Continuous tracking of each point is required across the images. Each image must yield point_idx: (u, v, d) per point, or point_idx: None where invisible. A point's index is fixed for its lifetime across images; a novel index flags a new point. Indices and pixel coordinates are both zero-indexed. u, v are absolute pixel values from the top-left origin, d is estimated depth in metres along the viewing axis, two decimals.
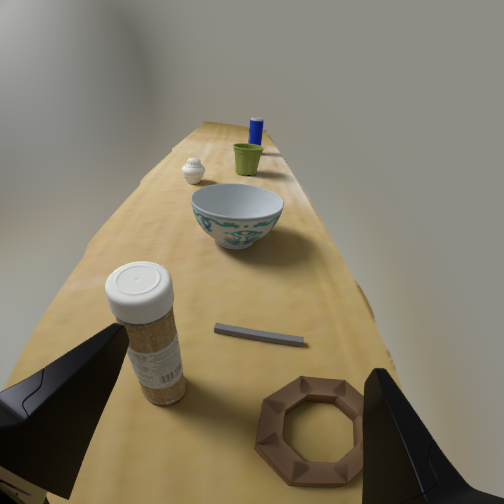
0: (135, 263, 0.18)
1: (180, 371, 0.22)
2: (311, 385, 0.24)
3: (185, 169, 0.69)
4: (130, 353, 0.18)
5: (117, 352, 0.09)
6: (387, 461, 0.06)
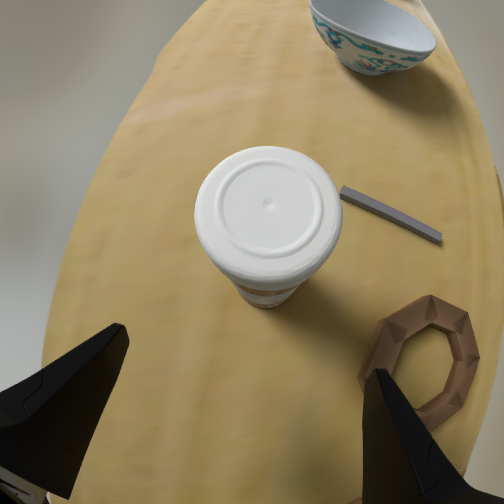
0: (259, 153, 0.09)
1: None
2: (437, 311, 0.18)
3: None
4: (234, 284, 0.13)
5: (117, 352, 0.09)
6: (387, 461, 0.06)
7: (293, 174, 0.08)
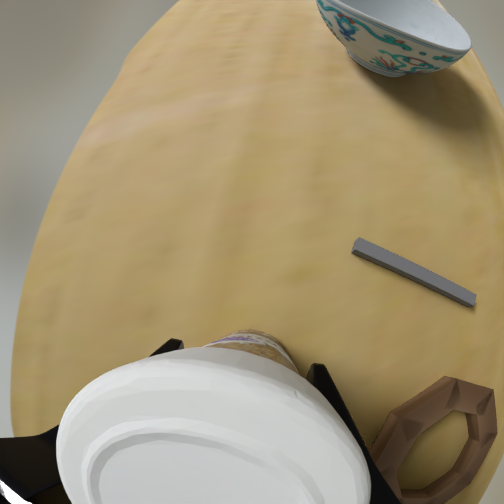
0: (161, 399, 0.03)
1: None
2: (461, 396, 0.12)
3: None
4: None
5: None
6: None
7: (256, 472, 0.02)
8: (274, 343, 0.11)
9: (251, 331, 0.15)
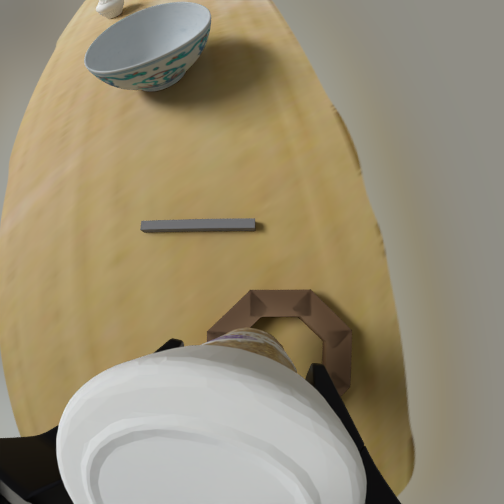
0: (159, 396, 0.03)
1: None
2: (264, 303, 0.21)
3: (98, 8, 0.32)
4: None
5: None
6: None
7: (252, 468, 0.02)
8: (272, 341, 0.11)
9: (250, 329, 0.15)
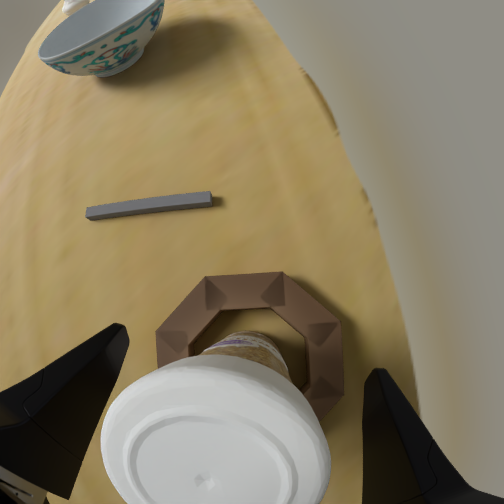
0: (183, 393, 0.04)
1: None
2: (224, 292, 0.16)
3: (64, 8, 0.27)
4: None
5: (117, 352, 0.09)
6: (387, 461, 0.06)
7: (246, 440, 0.04)
8: (267, 343, 0.13)
9: (247, 332, 0.16)
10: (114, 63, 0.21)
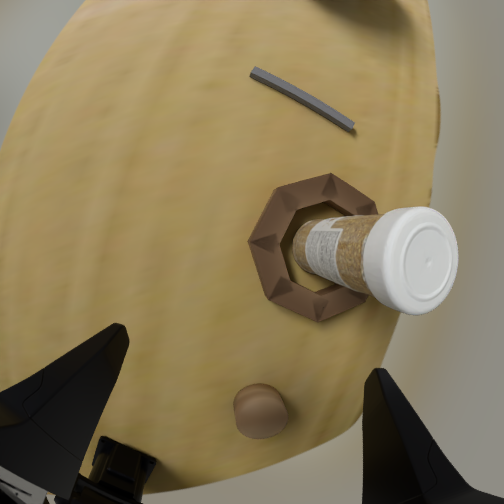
0: (439, 220, 0.10)
1: None
2: (337, 190, 0.21)
3: None
4: (331, 264, 0.15)
5: (117, 352, 0.09)
6: (387, 461, 0.06)
7: (447, 249, 0.10)
8: None
9: None
10: None
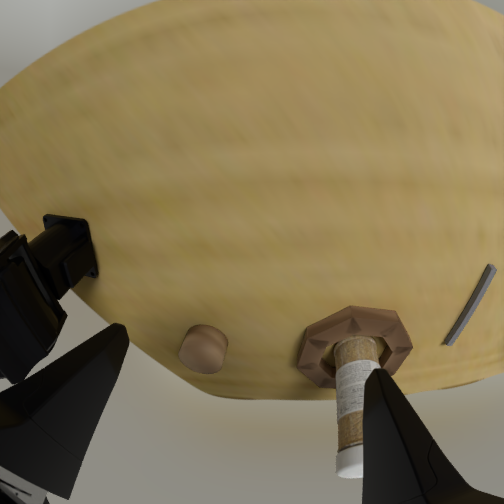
0: None
1: None
2: (400, 354, 0.24)
3: None
4: (352, 404, 0.19)
5: (117, 352, 0.09)
6: (387, 461, 0.06)
7: None
8: None
9: None
10: None
